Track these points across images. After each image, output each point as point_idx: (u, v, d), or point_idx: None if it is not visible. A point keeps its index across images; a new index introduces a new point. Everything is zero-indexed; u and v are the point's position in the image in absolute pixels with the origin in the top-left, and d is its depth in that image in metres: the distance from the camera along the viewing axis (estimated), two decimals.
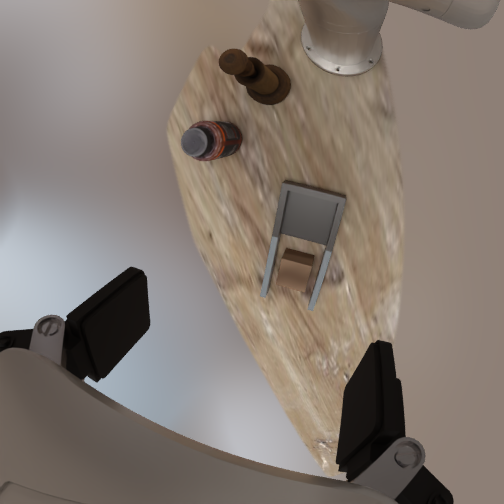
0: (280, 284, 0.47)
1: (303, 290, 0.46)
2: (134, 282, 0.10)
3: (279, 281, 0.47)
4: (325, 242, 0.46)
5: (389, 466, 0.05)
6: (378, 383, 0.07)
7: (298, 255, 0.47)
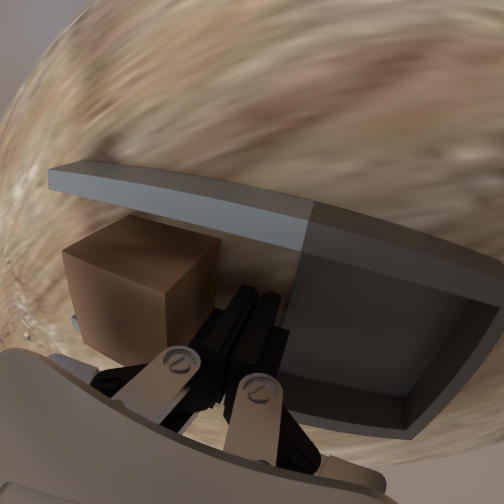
0: (68, 268, 0.09)
1: (87, 342, 0.11)
2: (253, 300, 0.10)
3: (75, 267, 0.09)
4: None
5: (250, 408, 0.06)
6: (252, 323, 0.09)
7: (199, 306, 0.11)
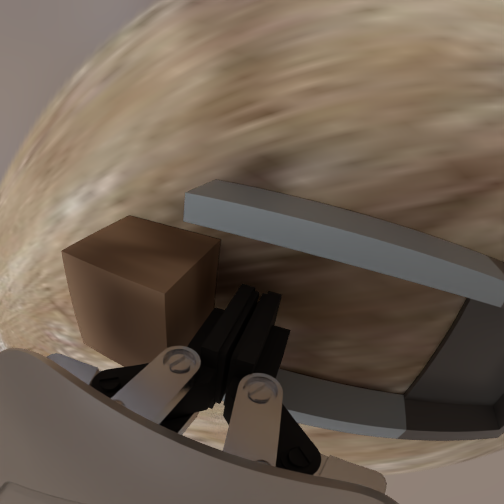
0: (68, 269, 0.09)
1: (87, 342, 0.11)
2: (253, 300, 0.10)
3: (74, 267, 0.09)
4: (412, 396, 0.12)
5: (249, 409, 0.06)
6: (252, 323, 0.09)
7: (199, 307, 0.11)
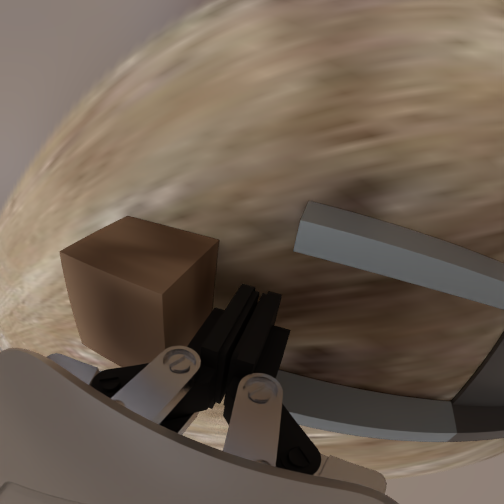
0: (66, 269, 0.09)
1: (85, 342, 0.11)
2: (254, 300, 0.10)
3: (72, 268, 0.09)
4: (459, 402, 0.11)
5: (249, 408, 0.06)
6: (252, 323, 0.09)
7: (197, 307, 0.11)
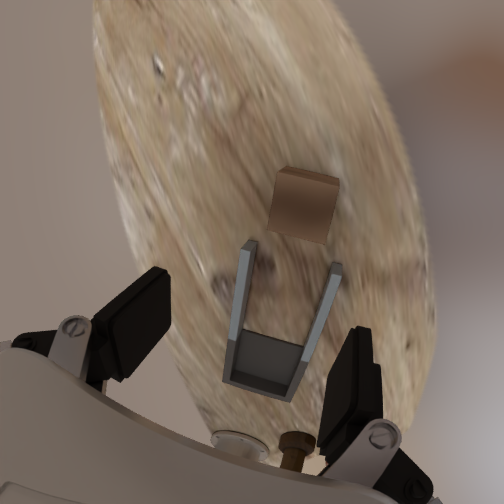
0: (329, 188, 0.21)
1: (279, 176, 0.22)
2: (159, 281, 0.10)
3: (331, 194, 0.21)
4: (243, 333, 0.35)
5: (365, 449, 0.05)
6: (355, 365, 0.08)
7: None
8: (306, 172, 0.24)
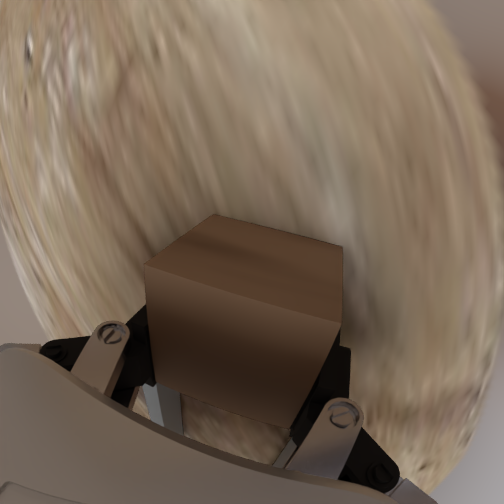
0: (307, 325, 0.06)
1: (152, 277, 0.07)
2: None
3: (311, 342, 0.06)
4: None
5: (328, 430, 0.06)
6: None
7: None
8: (254, 238, 0.09)
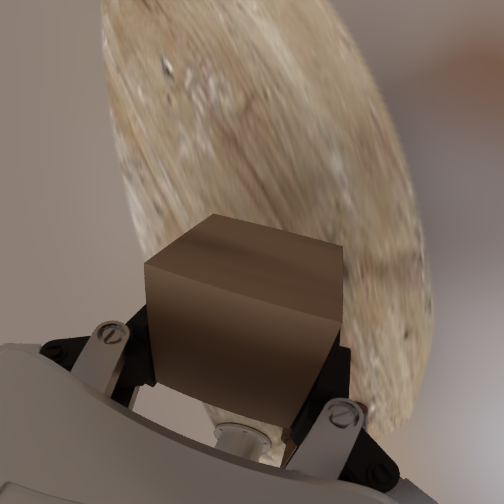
0: (308, 324, 0.06)
1: (152, 276, 0.07)
2: None
3: (312, 341, 0.06)
4: None
5: (328, 430, 0.06)
6: None
7: None
8: (254, 238, 0.09)
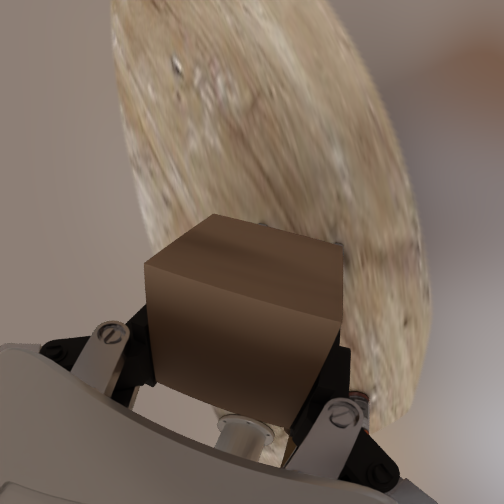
0: (307, 324, 0.06)
1: (152, 276, 0.07)
2: None
3: (312, 341, 0.06)
4: None
5: (328, 430, 0.06)
6: None
7: None
8: (254, 237, 0.09)
